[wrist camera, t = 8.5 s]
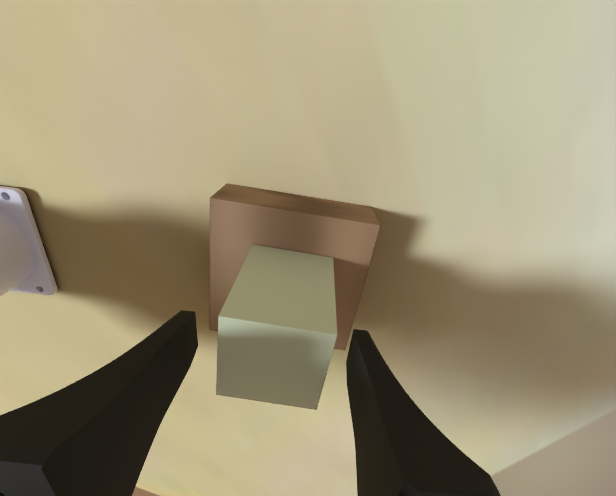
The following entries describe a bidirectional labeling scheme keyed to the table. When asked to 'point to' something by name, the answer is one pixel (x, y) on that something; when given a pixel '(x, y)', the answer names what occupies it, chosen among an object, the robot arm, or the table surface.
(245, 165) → the table surface
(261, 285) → the sage block
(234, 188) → the walnut block
